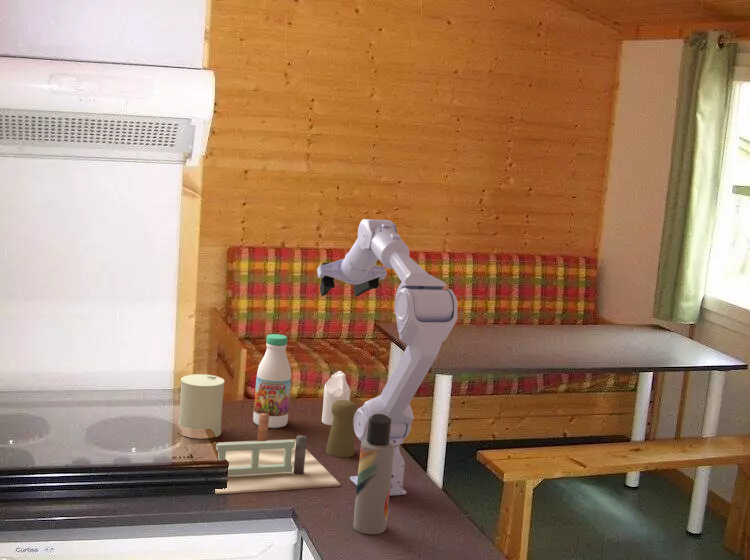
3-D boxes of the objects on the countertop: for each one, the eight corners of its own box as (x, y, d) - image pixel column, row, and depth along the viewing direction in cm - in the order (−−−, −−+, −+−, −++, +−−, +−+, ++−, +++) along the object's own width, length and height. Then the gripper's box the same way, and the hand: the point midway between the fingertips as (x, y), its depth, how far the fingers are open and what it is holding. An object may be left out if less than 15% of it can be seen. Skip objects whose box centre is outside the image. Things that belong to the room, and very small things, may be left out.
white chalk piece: (326, 373, 224) (325, 367, 229) (321, 425, 226) (321, 417, 231) (352, 375, 224) (351, 369, 230) (348, 427, 226) (347, 419, 232)
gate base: (340, 486, 190) (343, 447, 189) (216, 494, 180) (219, 454, 179) (296, 440, 213) (299, 406, 212) (184, 445, 204) (186, 409, 202)
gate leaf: (290, 469, 194) (292, 439, 193) (292, 471, 193) (294, 441, 192) (214, 473, 188) (216, 443, 187) (215, 476, 187) (218, 445, 186)
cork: (356, 449, 212) (361, 399, 210) (352, 458, 206) (357, 407, 204) (327, 445, 212) (332, 395, 210) (323, 455, 206) (328, 403, 205)
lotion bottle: (385, 522, 175) (396, 412, 172) (386, 536, 169) (398, 422, 166) (352, 520, 175) (363, 410, 172) (353, 533, 169) (364, 420, 166)
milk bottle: (249, 417, 226) (256, 331, 223) (283, 417, 228) (290, 332, 225) (256, 429, 219) (263, 339, 215) (290, 428, 221) (298, 340, 218)
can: (229, 431, 215) (233, 377, 213) (203, 442, 207) (207, 386, 205) (195, 422, 219) (198, 369, 217) (168, 432, 211) (171, 377, 209)
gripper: (390, 243, 206) (366, 276, 216) (324, 240, 200) (303, 274, 211) (397, 272, 202) (372, 305, 213) (330, 270, 197) (308, 304, 207)
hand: (338, 292), depth 212 cm, fingers open, 7 cm apart
